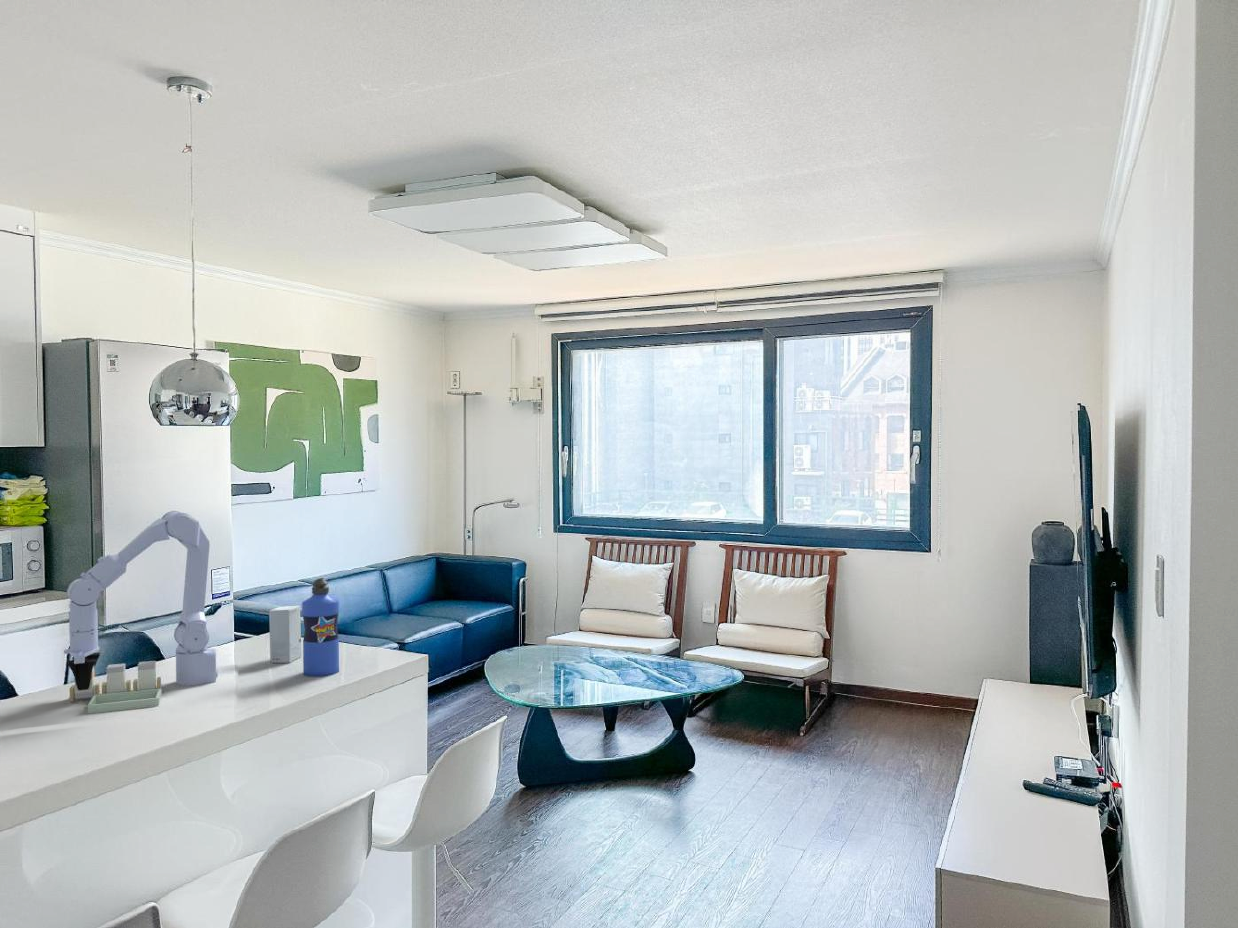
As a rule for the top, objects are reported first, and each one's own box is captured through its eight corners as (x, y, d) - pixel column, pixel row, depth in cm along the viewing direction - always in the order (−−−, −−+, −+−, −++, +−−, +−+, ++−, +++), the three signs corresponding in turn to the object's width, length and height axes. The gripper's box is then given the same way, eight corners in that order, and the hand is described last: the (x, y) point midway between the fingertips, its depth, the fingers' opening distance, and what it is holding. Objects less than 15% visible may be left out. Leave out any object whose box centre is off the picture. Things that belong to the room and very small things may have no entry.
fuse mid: (125, 692, 211) (125, 663, 211) (124, 695, 208) (123, 666, 208) (108, 693, 210) (108, 664, 210) (106, 697, 207) (106, 668, 206)
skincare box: (290, 663, 243) (289, 610, 243) (268, 663, 243) (268, 610, 243) (302, 656, 251) (301, 604, 251) (281, 656, 252) (281, 604, 251)
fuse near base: (156, 689, 214) (155, 660, 214) (154, 692, 211) (154, 663, 210) (139, 690, 212) (139, 662, 212) (138, 694, 209) (137, 665, 209)
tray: (161, 699, 208) (161, 688, 208) (158, 709, 200) (158, 698, 200) (93, 706, 203) (93, 695, 203) (87, 717, 194) (87, 705, 194)
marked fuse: (94, 692, 209) (94, 663, 208) (92, 696, 205) (92, 667, 205) (77, 694, 207) (77, 665, 207) (74, 698, 204) (74, 668, 204)
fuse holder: (164, 691, 216) (164, 674, 216) (162, 697, 210) (162, 680, 210) (69, 700, 208) (69, 683, 208) (65, 707, 202) (65, 690, 202)
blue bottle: (344, 673, 232) (343, 579, 231) (308, 678, 227) (307, 582, 226) (333, 666, 240) (332, 575, 239) (298, 671, 234) (297, 578, 234)
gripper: (69, 625, 211) (70, 681, 211) (58, 637, 198) (59, 697, 198) (103, 623, 214) (104, 678, 214) (94, 634, 201) (95, 693, 201)
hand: (84, 687), depth 206 cm, fingers closed on marked fuse, 3 cm apart
